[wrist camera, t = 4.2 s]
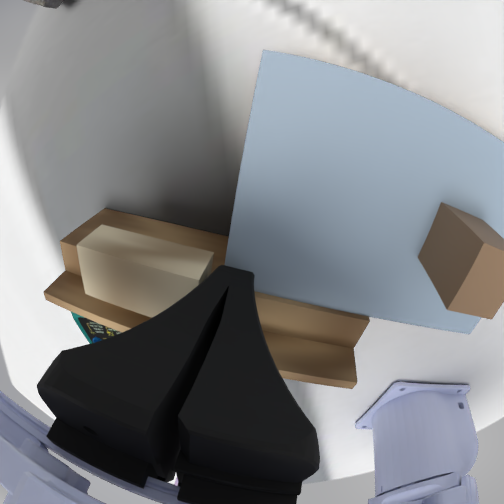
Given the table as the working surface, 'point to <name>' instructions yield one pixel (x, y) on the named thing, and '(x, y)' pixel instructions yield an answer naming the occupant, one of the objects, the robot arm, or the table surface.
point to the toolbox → (269, 307)
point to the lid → (368, 199)
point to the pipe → (47, 3)
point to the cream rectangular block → (139, 269)
